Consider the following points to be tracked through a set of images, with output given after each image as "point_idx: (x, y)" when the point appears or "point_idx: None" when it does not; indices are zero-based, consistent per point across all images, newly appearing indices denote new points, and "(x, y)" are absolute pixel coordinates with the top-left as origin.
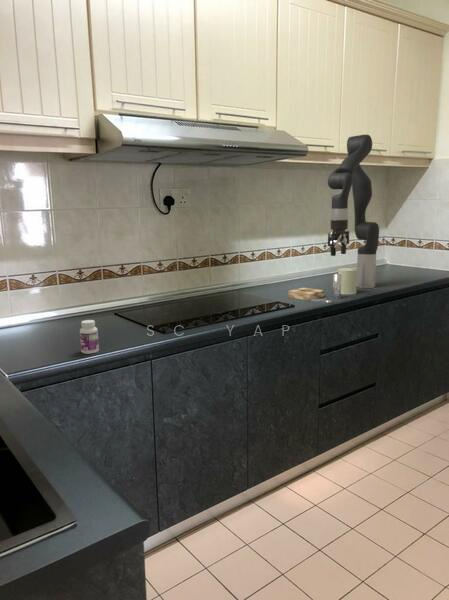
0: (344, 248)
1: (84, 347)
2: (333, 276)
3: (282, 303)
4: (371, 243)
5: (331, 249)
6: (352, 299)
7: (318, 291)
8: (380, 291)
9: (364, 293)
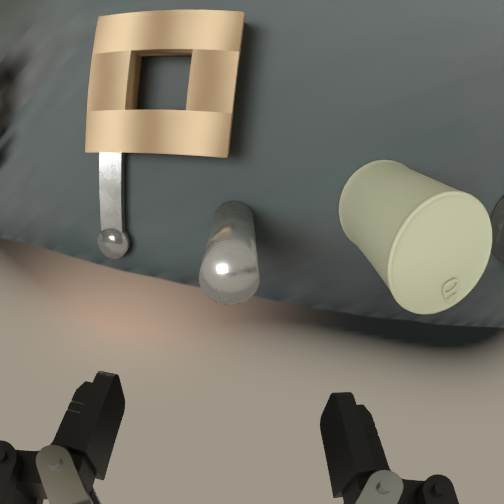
0: (330, 469)
1: None
2: (207, 254)
3: (5, 102)
4: None
5: (62, 433)
6: None
7: (173, 147)
8: None
9: None
